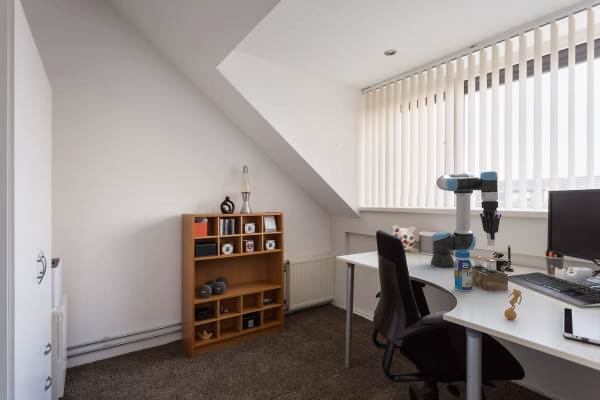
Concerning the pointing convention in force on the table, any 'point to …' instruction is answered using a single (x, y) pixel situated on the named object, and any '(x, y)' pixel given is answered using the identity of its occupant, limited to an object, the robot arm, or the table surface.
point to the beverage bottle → (463, 271)
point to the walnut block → (489, 279)
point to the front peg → (491, 266)
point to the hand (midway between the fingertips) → (491, 245)
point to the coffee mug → (499, 264)
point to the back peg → (478, 262)
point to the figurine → (510, 312)
